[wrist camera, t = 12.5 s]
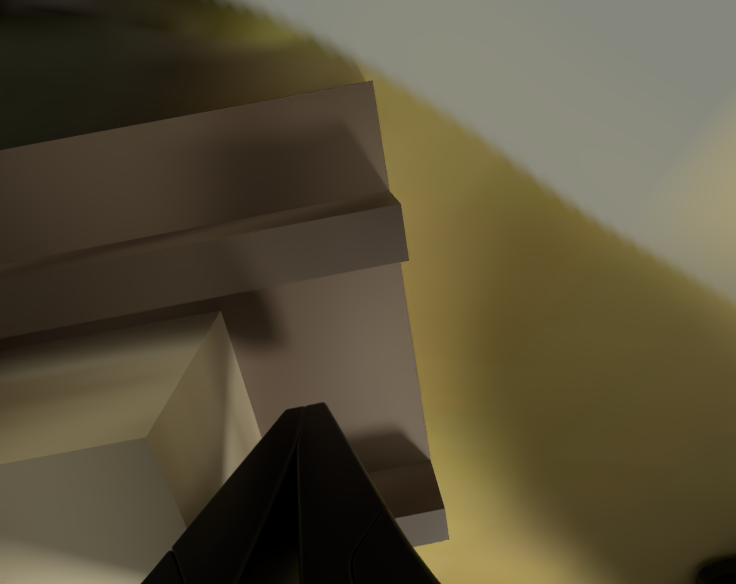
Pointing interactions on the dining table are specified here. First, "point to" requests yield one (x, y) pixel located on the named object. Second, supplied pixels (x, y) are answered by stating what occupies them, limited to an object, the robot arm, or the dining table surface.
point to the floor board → (237, 262)
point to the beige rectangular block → (115, 447)
